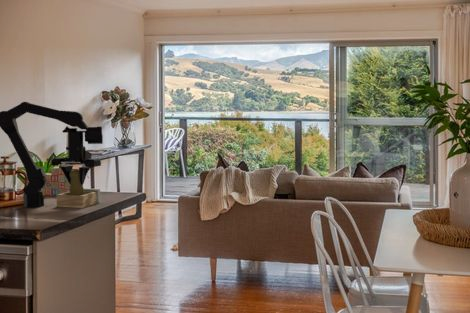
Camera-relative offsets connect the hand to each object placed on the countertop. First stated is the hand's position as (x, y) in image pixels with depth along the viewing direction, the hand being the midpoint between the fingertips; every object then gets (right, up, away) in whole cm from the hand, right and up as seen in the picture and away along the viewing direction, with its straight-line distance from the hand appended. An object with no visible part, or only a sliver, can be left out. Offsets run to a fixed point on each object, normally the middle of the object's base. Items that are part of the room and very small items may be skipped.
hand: (76, 184), depth 220 cm
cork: (0, -6, +1) cm, 6 cm away
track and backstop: (0, -9, -1) cm, 9 cm away
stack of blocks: (-18, -7, +33) cm, 38 cm away
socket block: (0, -8, +1) cm, 8 cm away
